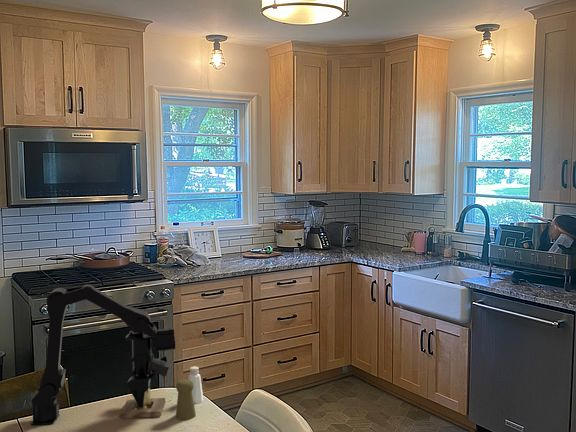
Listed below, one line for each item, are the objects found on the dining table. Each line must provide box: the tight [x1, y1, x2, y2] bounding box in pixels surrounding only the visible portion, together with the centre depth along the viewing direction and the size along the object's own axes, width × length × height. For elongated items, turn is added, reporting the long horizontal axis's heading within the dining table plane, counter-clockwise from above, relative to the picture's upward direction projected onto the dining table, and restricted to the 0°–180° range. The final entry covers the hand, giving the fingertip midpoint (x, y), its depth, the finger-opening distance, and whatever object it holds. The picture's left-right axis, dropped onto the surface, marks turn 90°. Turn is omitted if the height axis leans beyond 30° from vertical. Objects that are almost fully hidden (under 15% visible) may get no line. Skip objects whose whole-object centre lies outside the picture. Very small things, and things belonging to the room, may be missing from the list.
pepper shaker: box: [175, 378, 197, 421], centre depth 175 cm, size 6×6×11 cm
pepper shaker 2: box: [188, 365, 204, 405], centre depth 187 cm, size 5×5×11 cm
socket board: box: [120, 397, 166, 419], centre depth 180 cm, size 12×11×2 cm
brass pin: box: [136, 387, 152, 409], centre depth 179 cm, size 4×4×6 cm
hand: (143, 401), depth 180 cm, fingers open, 9 cm apart
